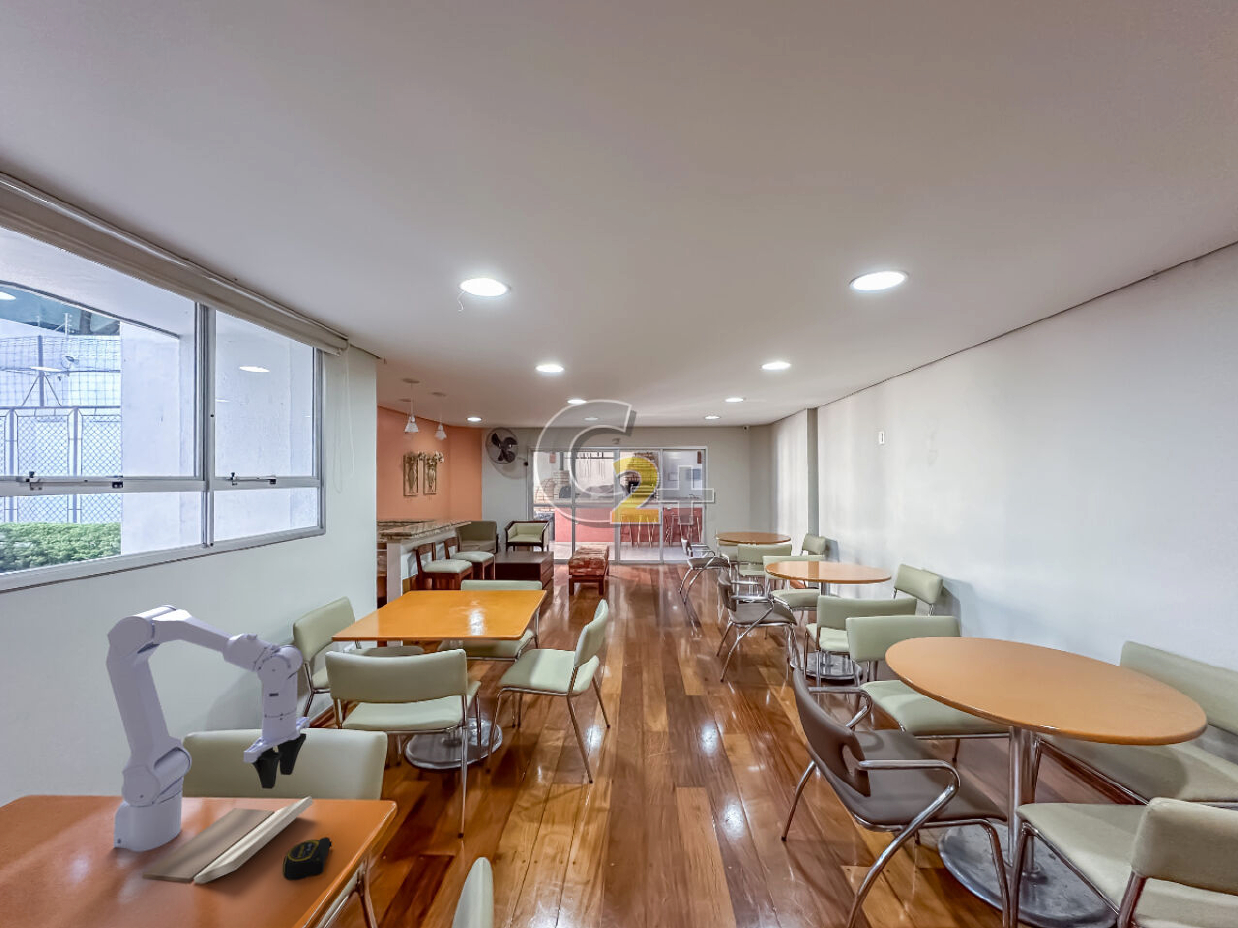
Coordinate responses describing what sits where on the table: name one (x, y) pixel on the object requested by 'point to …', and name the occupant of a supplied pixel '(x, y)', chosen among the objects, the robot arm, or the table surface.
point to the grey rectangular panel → (208, 845)
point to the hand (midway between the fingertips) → (277, 780)
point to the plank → (253, 841)
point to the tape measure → (306, 859)
